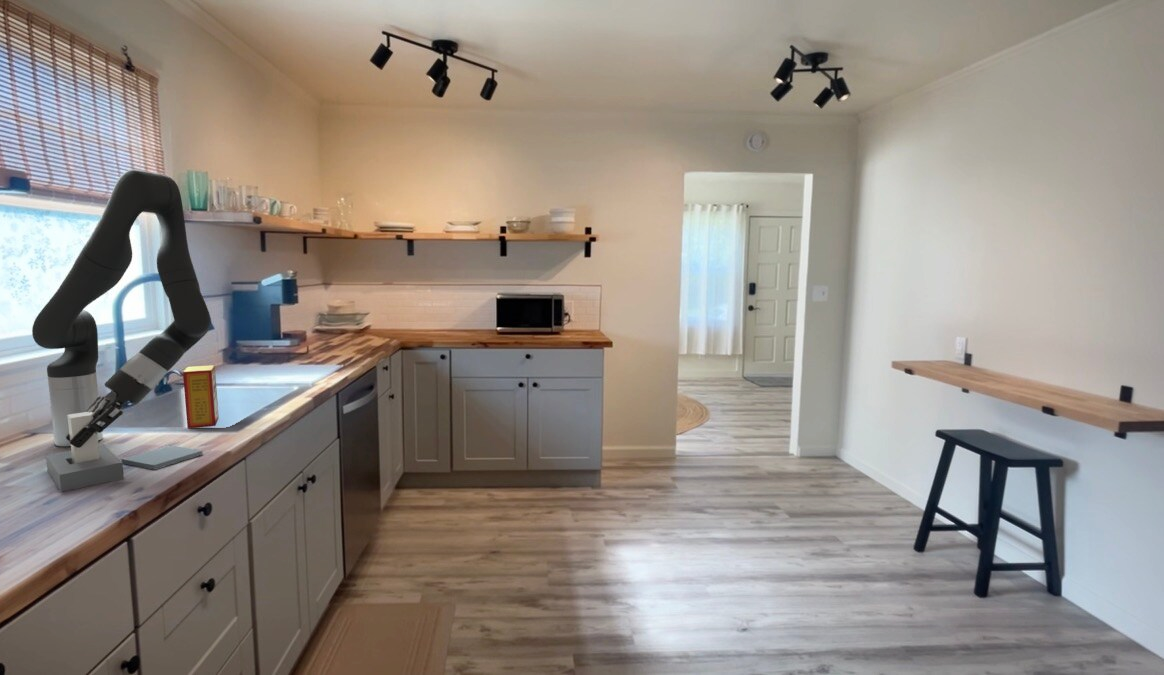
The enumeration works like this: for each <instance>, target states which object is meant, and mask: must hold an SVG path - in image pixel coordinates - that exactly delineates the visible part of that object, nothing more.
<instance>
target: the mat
mask: <svg viewBox="0 0 1164 675" xmlns="http://www.w3.org/2000/svg"><path fill="white" fill-rule="evenodd" d="M199 455H200V456H203V449H202V450H200V449H196V448H190V447H189V448H188V447H182V446H177V445H170V444H169V445H167V446H163V447H160V448H157V449H152V450H148V451H146V452H142V453H138V454H137V453H136V454H134V455H130V456H127V457H124V458H120V460H121V461H122V462H123V465H129V466H134V467H139V468H144V469H149V470H153V469H155V470H158V469H160V467H161V468H164V467H167V466H166V465H168V466H170V464H171V465H173V464H177V463H180V461H181V462H184V461H186V460H189V459H193V457H194V458H196V456H197V457H200V456H199ZM183 460H184V461H183ZM163 466H164V467H163ZM157 468H158V469H157Z"/></svg>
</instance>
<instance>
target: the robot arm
mask: <svg viewBox="0 0 1164 675" xmlns="http://www.w3.org/2000/svg"><path fill="white" fill-rule="evenodd" d="M142 213H150V214H151V213H152V214H155V216H156V218H157V221H158V223H159V226H160V231H161V232H160V233H161V236H160V242H159V247H158V250H157V254H156V268H157V272H158V275H159V279H160V282H161V286H162V287H163V291H164V293H165V295H166V297H167V298H168V302H169V306H170V308H171V313H172V317H173V321H172V322H171V323H170V324H169V325H168V326H167V327H166V328H165V329H164V330H163V331H162V332H161V333H160V334H159V335H156V336H155V337H153V338H152V339H151V340H150V341H148V343H146V345H144V347H143V348H141V350H139V352H137V353H136V354H135V355H133V356H132V357H131V358H130V359H128V360H127V361H126V362H125V363H124V364H123V365H121V367H120V368H119V369H118V370H117V371H116V372H115V373H114V374H113V375H111V377H109V379H108V380H107V381H106V382H104V386H105V388H106V389H108V390H110V392H108V393H107V394H106V395H105V396H99V386H98V377H97V365H98V361H99V339H98V338H99V335H98V334H99V333H98V332H99V331H98V325H97V322H96V320H95V318H94V316H93V315H92V313H90V312H89V311H87V310H86V309H85V308H86V307H88V305H89V306H90V304H91V303H93V302H94V301H96V300H97V299H98V298H100V297H102V296H103V295H104V294H106V293H108V292H109V291H110V290H112V289H113V288H114V287H115V286H117V284H118V283H119V282H120V281H121V279H123V276H124V274H125V273H126V272H127V270H128V268H130V265H131V263H132V259H133V247H132V243H131V239H130V237H131V235H130V234H131V233H130V232H131V229H132V227H133V225H134V224H135V222H136V220H137V218H138V217H139V216H140V215H141V214H142ZM187 236H188V235H187V231H186V221H185V216H184V208H183V201H182V195H181V191H180V188H179V185H178V184H177V183H176V181H175V180H174V179H173V178H172V177H170V176H168V175H165V174H163V173H162V174H161V173H158V172H151V171H148V170H147V171H146V170H141V169H128V170H127V171H125V172H123V173H122V174H121V175H120V176H119V178H118V179H117V181H116V182H115V185H114V186H113V189H112V191H111V193H110V196H109V198H108V201H107V202H106V206H105V208H104V210H103V212H102V214H101V217H100V218H99V220H98V222H97V223H96V226H95V228H94V230H93V232H91V235H90V236H89V238H88V240H87V241H86V242H85V244H84V245H83V247H82V249H81V251H80V252H79V254H78V256H77V258H76V259H75V261H74V264H72V267H71V268H70V270H69V271H68V273H67V275H66V276H65V278H64V279H63V281H62V282H61V284H60V285H59V287H58V289H57V290H56V292H55V293H54V294H53V295H52V297H51V298H50V299H49V301H48V302H46V304H45V305H44V307H43V308H42V309H41V310H40V312H39V313H37V314H38V315H37V316H36V317H35V320H34V321H33V323H32V324H33V325H32V329H31V332H32V338H33V340H34V342H35V344H37V345H38V346H39V347H40V348H44V349H49V350H58V349H64V350H63V353H62V355H60V356H59V358H57V359H56V360H54V361H52V362H51V363H49V364H48V365H47V366H46V373H47V374H46V375H47V382H48V392H49V400H50V415H51V422H52V423H51V424H52V431H53V442H54V443H55V446H57V447H71V445H73V446H75V447H77V448H80V447H81V446H82V445H83V444H84V443H85V442H86V441H87V440H88V439H89V438H90V437H91V436H92V435H93V434H94V433H95V434H96V433H97V436H98V442H99V441H100V440H102V439H103V438H104V436H103V431H104V430H105V429H107V428H108V427H109V426H110V425H111V424H112V423H113V422H115V421H116V420H117V419H118V418H120V417H121V416H122V415H123V414H124V411H123V407H124V406H125V405H126V403H127V402H131V404H133V405H138V404H140V402H141V401H142V400H143V399H144V398H145V397H146V396H147V395H148V394H149V393H150V392H151V391H152V390H153V389H154V388H155V387H156V386H157V385H158V384H159V383H160V382H161V380H163V378H164V377H165V375H166V374H167V373H168V372H169V371H170V370H171V369H172V368H173V367H174V366H175V365H176V364H177V363H178V362H179V361H180V360H181V358H182V357H183V356H184V354H186V353H187V352H188V351H189V350H190V349H192V348H193V347H194V346H195V345H196V344H197V343H198V342H200V340H202V339H203V338H204V336H206V334H207V333H209V330H210V328H211V326H212V325H211V324H212V318H211V314H210V312H209V309H208V306H207V304H206V300H205V299H204V297H203V295H202V293H201V288H200V283H199V280H198V277H197V274H196V271H195V267H194V265H193V261H192V257H191V255H190V254H191V253H190V250H189V245H188V244H189V243H188V238H187ZM83 412H93V413H92V414H91V420H90V421H89V422H88V423H87V424H85V426H84V428H82V429H81V430H80V431H79V432H78V433H77V434H76V435H75V436H74V437H73V438H72V439H71V440H70V434H69V426H68V417H67V415H69V414H76V413H83Z"/></svg>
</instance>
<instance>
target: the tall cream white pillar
mask: <svg viewBox="0 0 1164 675" xmlns="http://www.w3.org/2000/svg"><path fill="white" fill-rule="evenodd" d="M92 413H93V412H83V413H76V414H69V415H67V417H68V426H69V434H70V440H71V439H72V438H73V437H74V436H75V435H76V434H77V433H78V432H79V431H80V430H81V429H82V428H84V426H85V424H87V423H88V422H89V421H90V420H91V414H92ZM99 446H100V445H99V441H98V436H97V433H96V434H95V433H94V434H93V435H92V436H91V437H90V438H89V439H88V440H87V441H86V442H85V443H84V444H83V445H82V446H81V447H80V448H77V447H75V446H73V445H71V446H70V451H71V453H72V462H73V464H75V463H80V462H85V461H90V460H95V459H100V455H99Z"/></svg>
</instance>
